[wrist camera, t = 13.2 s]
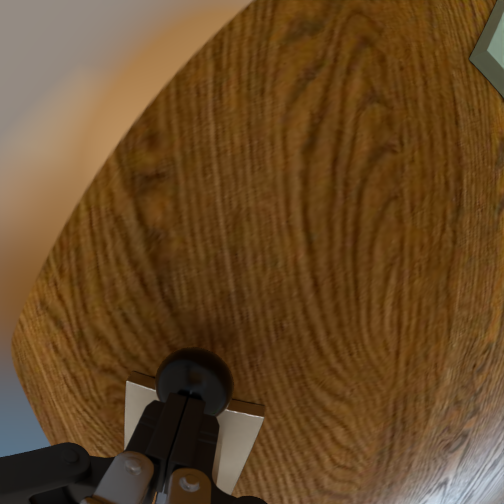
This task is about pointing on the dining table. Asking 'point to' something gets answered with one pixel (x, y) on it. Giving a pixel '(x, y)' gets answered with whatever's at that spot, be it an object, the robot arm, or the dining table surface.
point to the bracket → (229, 438)
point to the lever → (195, 382)
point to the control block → (492, 49)
